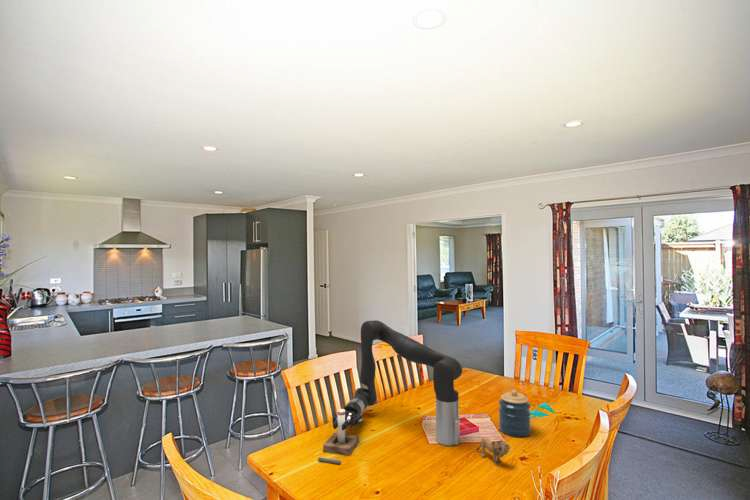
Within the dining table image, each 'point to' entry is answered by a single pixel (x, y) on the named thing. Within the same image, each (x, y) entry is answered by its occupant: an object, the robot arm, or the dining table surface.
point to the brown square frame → (339, 448)
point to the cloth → (541, 414)
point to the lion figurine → (494, 448)
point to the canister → (514, 414)
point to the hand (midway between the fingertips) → (338, 427)
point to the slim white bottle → (340, 421)
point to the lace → (329, 460)
